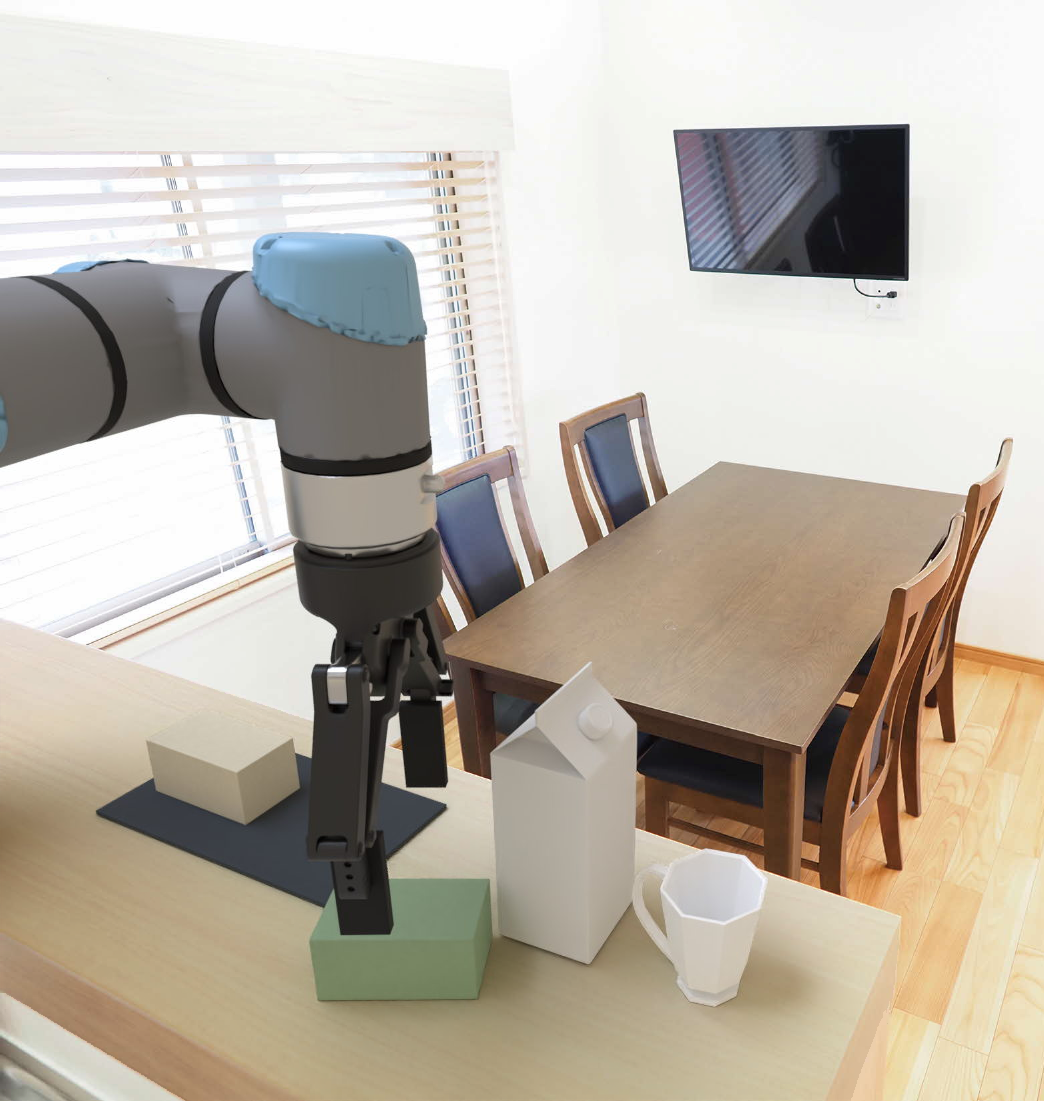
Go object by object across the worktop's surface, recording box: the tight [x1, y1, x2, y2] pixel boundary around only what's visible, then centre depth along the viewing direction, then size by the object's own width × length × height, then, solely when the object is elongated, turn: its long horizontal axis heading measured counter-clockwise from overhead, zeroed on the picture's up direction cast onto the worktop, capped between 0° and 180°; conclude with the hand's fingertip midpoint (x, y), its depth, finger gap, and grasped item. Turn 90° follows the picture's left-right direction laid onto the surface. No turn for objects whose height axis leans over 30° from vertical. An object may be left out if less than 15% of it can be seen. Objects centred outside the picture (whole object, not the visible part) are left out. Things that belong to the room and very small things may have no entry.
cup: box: [632, 848, 769, 1008], centre depth 62 cm, size 7×10×8 cm
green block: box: [308, 878, 494, 1001], centre depth 61 cm, size 10×6×5 cm, turn 93°
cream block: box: [145, 707, 300, 825], centre depth 77 cm, size 10×6×5 cm, turn 67°
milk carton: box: [489, 661, 638, 965], centre depth 63 cm, size 7×7×19 cm
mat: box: [95, 752, 448, 909], centre depth 76 cm, size 24×13×1 cm, turn 67°
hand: (400, 850), depth 58 cm, fingers open, 13 cm apart
